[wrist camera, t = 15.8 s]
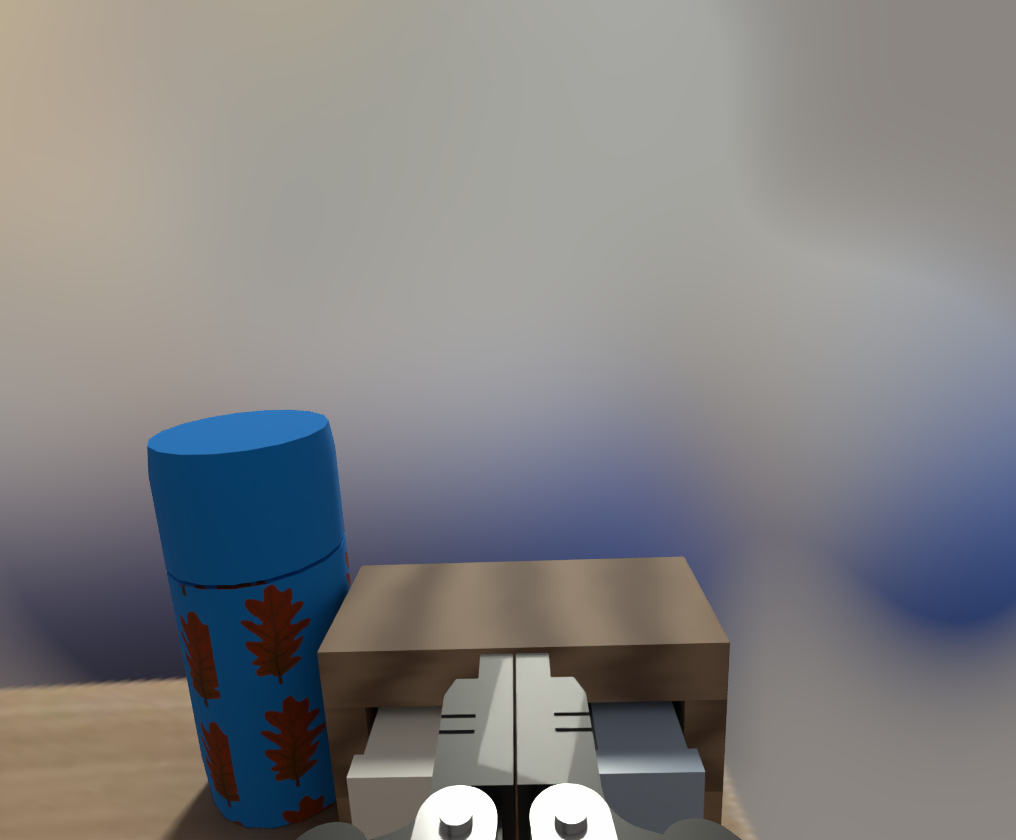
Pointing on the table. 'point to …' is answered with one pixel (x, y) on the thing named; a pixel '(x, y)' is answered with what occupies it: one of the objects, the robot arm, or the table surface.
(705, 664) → the housing
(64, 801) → the table surface
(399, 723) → the key white
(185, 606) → the thermos
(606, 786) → the key blue
